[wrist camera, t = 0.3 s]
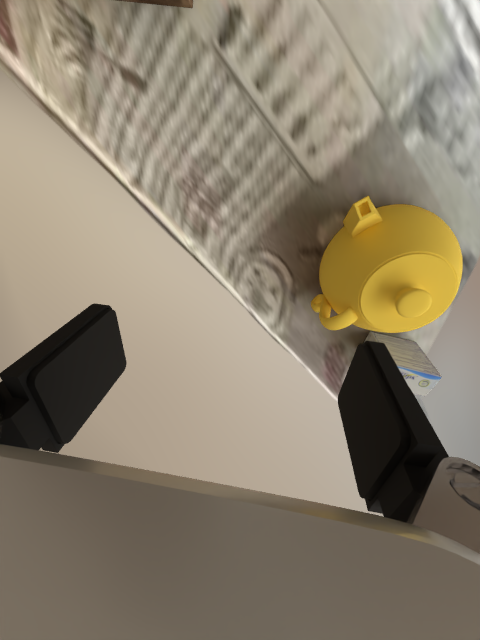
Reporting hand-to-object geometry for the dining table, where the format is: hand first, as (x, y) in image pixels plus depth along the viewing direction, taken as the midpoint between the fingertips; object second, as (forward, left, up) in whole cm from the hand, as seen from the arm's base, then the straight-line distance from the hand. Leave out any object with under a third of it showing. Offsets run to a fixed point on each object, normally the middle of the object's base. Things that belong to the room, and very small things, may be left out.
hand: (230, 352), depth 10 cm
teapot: (+4, +15, -31) cm, 35 cm away
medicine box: (+18, +24, -31) cm, 43 cm away
